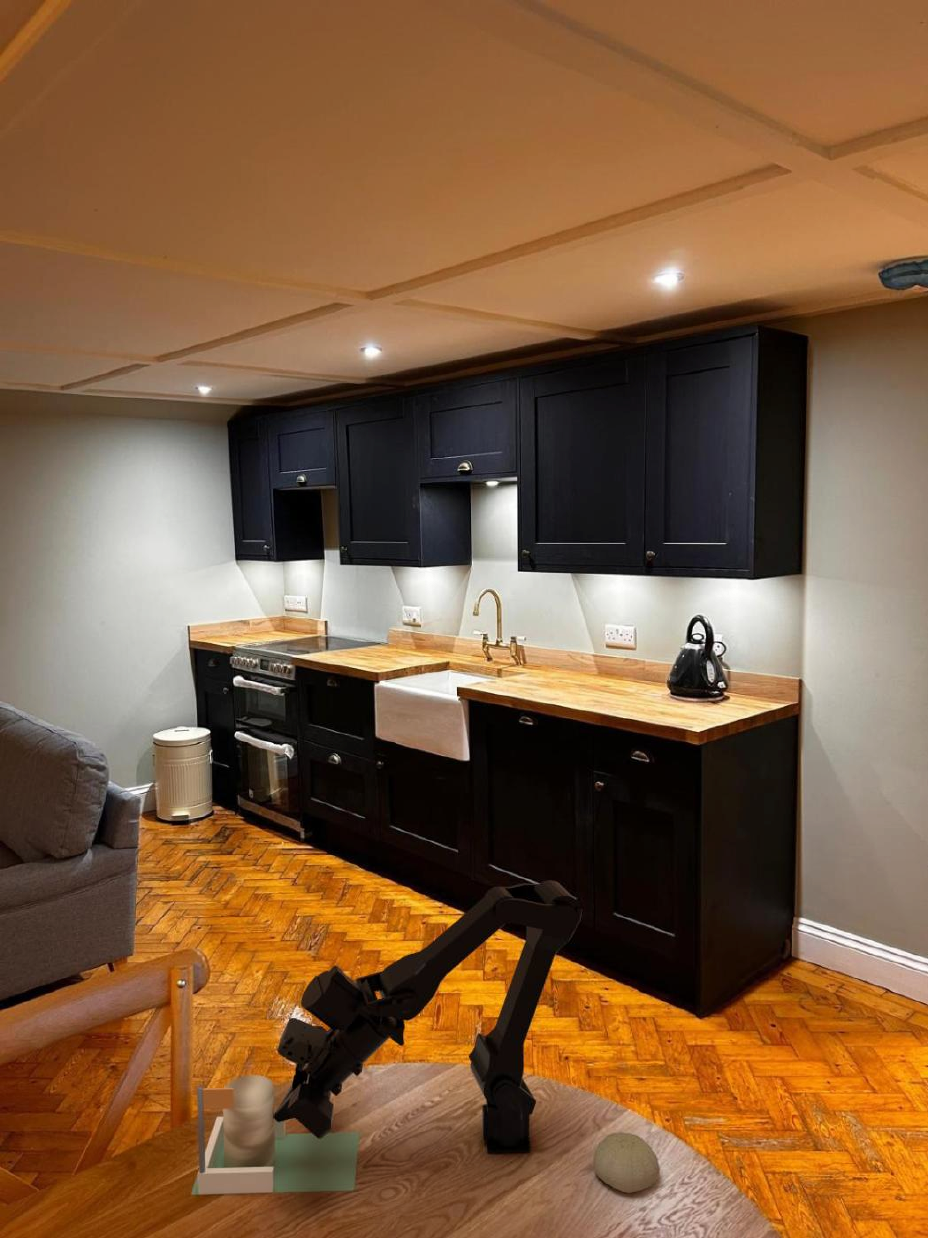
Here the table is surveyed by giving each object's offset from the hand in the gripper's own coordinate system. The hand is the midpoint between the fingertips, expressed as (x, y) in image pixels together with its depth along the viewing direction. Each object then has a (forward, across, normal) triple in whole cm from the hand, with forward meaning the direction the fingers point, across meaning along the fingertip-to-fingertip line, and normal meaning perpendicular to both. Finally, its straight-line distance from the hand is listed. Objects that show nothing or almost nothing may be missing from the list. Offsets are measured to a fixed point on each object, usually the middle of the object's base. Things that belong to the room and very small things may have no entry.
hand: (276, 1118), depth 131 cm
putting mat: (+5, 0, +6) cm, 8 cm away
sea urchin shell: (-29, +3, +41) cm, 50 cm away
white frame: (+8, 0, +1) cm, 8 cm away
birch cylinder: (+7, 0, +2) cm, 8 cm away
